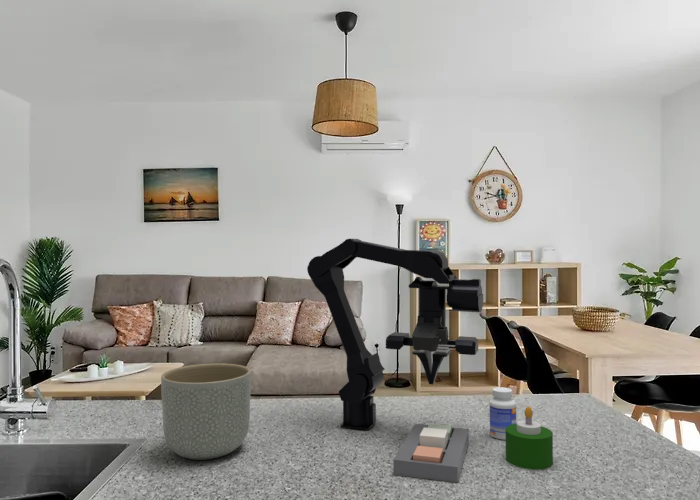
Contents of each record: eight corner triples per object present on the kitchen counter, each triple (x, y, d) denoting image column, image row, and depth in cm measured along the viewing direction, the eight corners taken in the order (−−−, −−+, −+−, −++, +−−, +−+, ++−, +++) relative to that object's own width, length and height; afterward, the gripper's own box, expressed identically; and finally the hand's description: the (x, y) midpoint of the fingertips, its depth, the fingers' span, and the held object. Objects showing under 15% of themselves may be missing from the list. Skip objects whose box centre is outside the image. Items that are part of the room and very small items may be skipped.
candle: (529, 473, 93) (529, 416, 93) (496, 457, 101) (495, 404, 101) (562, 464, 97) (562, 409, 97) (528, 449, 105) (528, 398, 105)
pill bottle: (517, 441, 109) (517, 393, 109) (490, 439, 110) (490, 392, 110) (515, 432, 114) (514, 386, 114) (488, 430, 115) (488, 385, 115)
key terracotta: (413, 468, 93) (412, 454, 93) (417, 458, 98) (417, 445, 98) (439, 471, 92) (439, 457, 92) (443, 461, 96) (443, 448, 96)
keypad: (393, 474, 93) (393, 459, 93) (415, 436, 112) (415, 423, 112) (457, 482, 90) (457, 467, 90) (468, 441, 109) (468, 428, 109)
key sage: (425, 442, 106) (425, 430, 106) (429, 435, 110) (429, 423, 110) (449, 445, 104) (449, 432, 104) (452, 437, 108) (452, 425, 108)
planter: (266, 440, 110) (265, 366, 110) (220, 473, 94) (220, 386, 94) (196, 432, 116) (195, 361, 116) (142, 461, 100) (141, 379, 100)
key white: (419, 448, 99) (419, 435, 99) (424, 439, 104) (423, 427, 104) (444, 450, 98) (444, 437, 98) (447, 442, 102) (447, 429, 102)
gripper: (378, 312, 108) (377, 389, 108) (472, 316, 102) (471, 398, 102) (392, 306, 119) (392, 376, 119) (478, 310, 112) (478, 384, 112)
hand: (431, 384), depth 113 cm, fingers closed
